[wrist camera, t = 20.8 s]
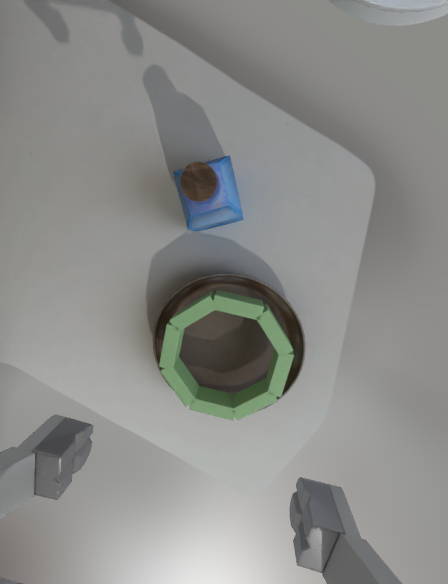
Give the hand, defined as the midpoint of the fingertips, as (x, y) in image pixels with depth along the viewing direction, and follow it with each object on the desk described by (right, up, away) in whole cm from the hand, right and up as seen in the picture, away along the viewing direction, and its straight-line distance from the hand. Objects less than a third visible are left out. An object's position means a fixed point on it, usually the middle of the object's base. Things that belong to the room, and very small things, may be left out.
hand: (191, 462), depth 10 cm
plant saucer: (+2, 0, +27) cm, 27 cm away
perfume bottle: (0, +18, +23) cm, 30 cm away
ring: (+1, -2, +23) cm, 23 cm away
